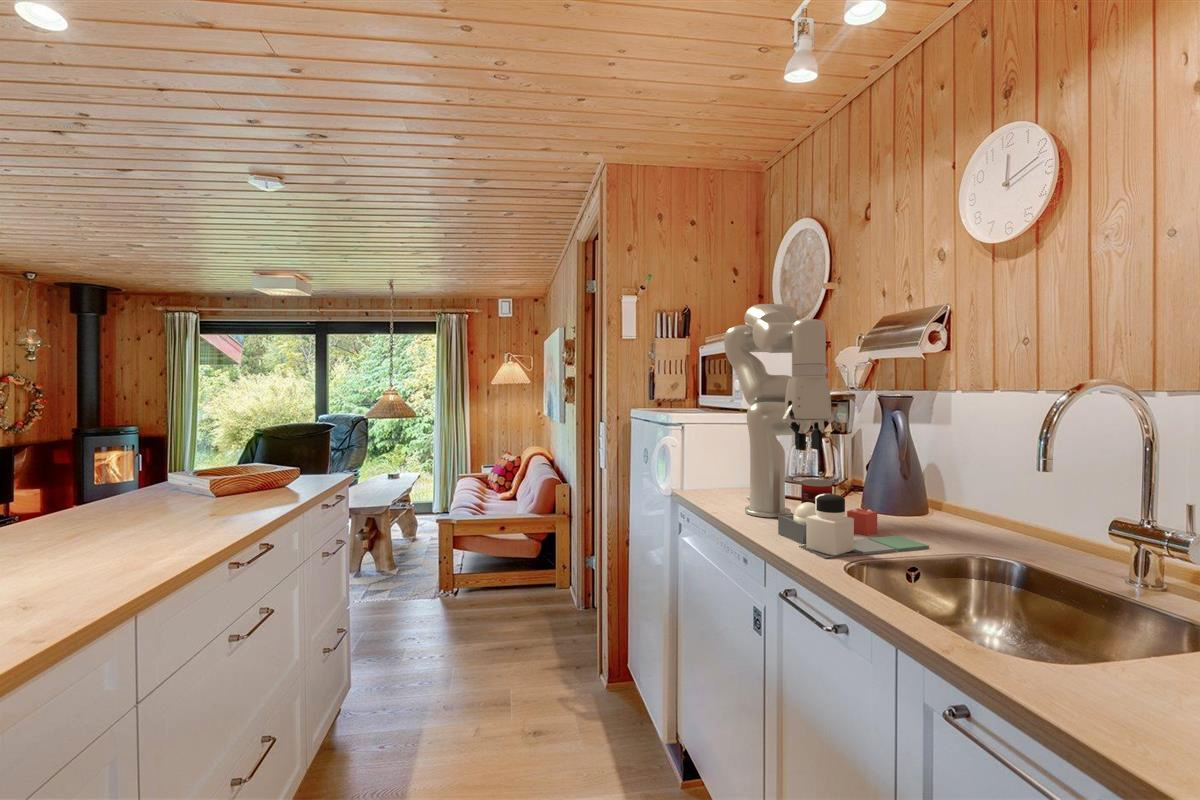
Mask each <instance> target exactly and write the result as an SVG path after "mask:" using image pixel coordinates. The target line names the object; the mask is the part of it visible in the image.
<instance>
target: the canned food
mask: <svg viewBox="0 0 1200 800" xmlns="http://www.w3.org/2000/svg"><path fill="white" fill-rule="evenodd" d="M800 485H801V494H800V498H801V502H800V504H802V503H805V502H810V503H814V504H815V497H816V496H818V495H820V494H833V482H832V481H831V480H827V479H818V478H817V479H815V478H814V479H813V478H808V479H807V478H806V479H803V480H801V484H800Z"/></svg>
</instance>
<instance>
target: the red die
mask: <svg viewBox="0 0 1200 800" xmlns="http://www.w3.org/2000/svg"><path fill="white" fill-rule="evenodd" d="M846 517H850V518H853V519H854V534H859V535H863V536H869V535H871V534H875V533H878V511H875V510H871V509H863V508H860V507H859V508H853V509H850V510H846ZM868 534H869V535H868Z"/></svg>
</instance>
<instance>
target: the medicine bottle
mask: <svg viewBox="0 0 1200 800" xmlns="http://www.w3.org/2000/svg"><path fill="white" fill-rule="evenodd" d="M815 513H816V514H817V515H813V516H808V517H807V544H806V545H807V547H806V548H807V549H810V550H812V551H815V552H817V553H821V554H822V553H823V554H827V555H829V556H836V555H844V554H846V553H849V552H850V551H853V550H854V539H855V533H854V519H853V518H850V517H847V516H845V515H846V499H845V497H843V496H842V495H839V494H835V493H832V494H820V495H818V496H816V497H815Z"/></svg>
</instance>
